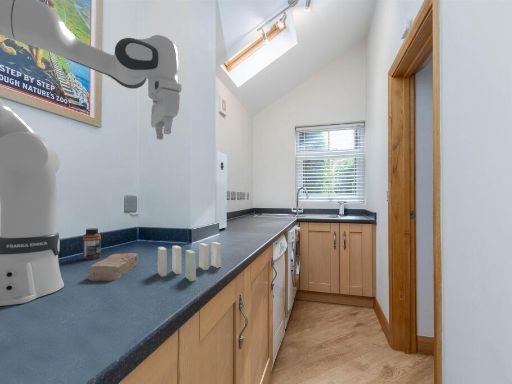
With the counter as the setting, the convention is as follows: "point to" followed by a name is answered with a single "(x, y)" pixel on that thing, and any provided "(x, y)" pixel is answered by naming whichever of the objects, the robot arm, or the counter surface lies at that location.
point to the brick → (113, 266)
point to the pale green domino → (190, 265)
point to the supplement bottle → (91, 244)
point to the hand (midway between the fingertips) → (163, 136)
